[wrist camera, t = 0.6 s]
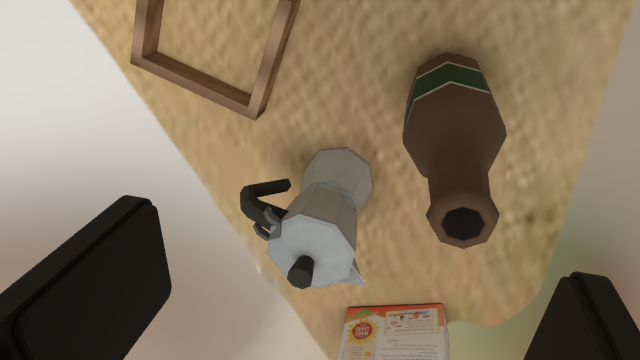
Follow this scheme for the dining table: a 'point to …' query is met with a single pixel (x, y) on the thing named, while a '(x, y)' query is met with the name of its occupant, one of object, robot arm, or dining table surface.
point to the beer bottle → (455, 146)
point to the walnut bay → (201, 83)
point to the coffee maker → (314, 219)
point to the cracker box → (395, 333)
